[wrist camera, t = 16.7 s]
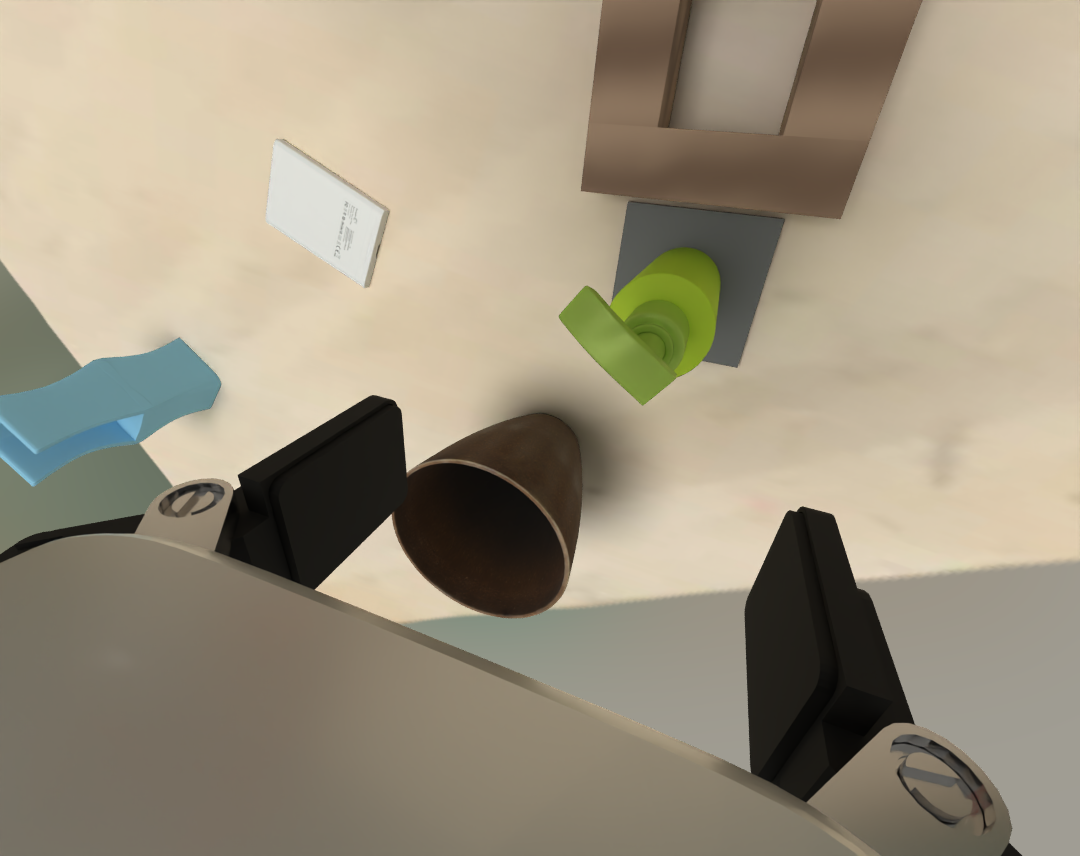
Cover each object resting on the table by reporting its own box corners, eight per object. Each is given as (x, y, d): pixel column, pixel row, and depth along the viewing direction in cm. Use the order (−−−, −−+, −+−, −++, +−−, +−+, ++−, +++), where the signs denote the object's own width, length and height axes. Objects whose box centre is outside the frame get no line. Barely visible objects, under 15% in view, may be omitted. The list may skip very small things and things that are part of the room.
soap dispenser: (674, 219, 34) (617, 247, 17) (737, 286, 34) (743, 376, 18) (618, 279, 37) (526, 350, 20) (677, 339, 37) (634, 457, 21)
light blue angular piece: (209, 412, 66) (33, 487, 49) (167, 372, 65) (-25, 435, 49) (223, 380, 62) (36, 451, 45) (179, 337, 61) (-28, 392, 44)
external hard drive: (288, 139, 43) (393, 210, 43) (277, 221, 48) (372, 286, 47) (273, 138, 42) (382, 210, 41) (264, 222, 47) (362, 289, 46)
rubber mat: (629, 201, 35) (627, 201, 34) (784, 218, 32) (784, 218, 31) (606, 339, 40) (605, 341, 40) (737, 365, 37) (737, 367, 37)
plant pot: (645, 478, 45) (609, 599, 32) (533, 521, 53) (466, 633, 40) (562, 352, 42) (485, 426, 29) (457, 417, 50) (358, 499, 37)
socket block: (637, -108, 27) (621, -161, 23) (949, -131, 23) (997, -201, 19) (598, 190, 35) (580, 191, 31) (825, 215, 31) (840, 218, 27)
